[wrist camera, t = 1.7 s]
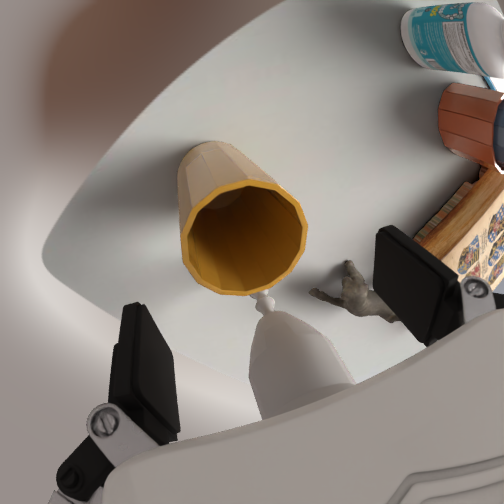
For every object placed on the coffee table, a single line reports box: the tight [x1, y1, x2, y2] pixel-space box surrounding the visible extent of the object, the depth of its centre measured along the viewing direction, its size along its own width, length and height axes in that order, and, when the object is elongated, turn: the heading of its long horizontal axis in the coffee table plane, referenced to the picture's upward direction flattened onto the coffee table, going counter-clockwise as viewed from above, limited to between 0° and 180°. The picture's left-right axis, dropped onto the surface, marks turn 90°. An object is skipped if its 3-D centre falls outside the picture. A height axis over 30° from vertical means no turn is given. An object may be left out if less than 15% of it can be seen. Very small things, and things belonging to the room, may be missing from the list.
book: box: [413, 166, 504, 291], centre depth 35 cm, size 25×6×28 cm
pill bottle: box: [401, 3, 504, 79], centre depth 14 cm, size 8×7×14 cm
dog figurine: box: [309, 260, 401, 323], centre depth 30 cm, size 12×6×7 cm, turn 64°
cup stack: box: [438, 83, 504, 174], centre depth 22 cm, size 9×9×11 cm
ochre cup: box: [177, 141, 308, 296], centre depth 18 cm, size 6×6×12 cm
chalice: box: [249, 289, 356, 420], centre depth 21 cm, size 7×7×18 cm
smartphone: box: [484, 76, 504, 92], centre depth 23 cm, size 8×1×15 cm
